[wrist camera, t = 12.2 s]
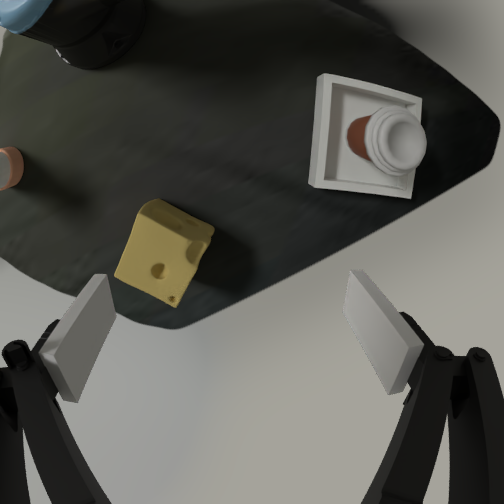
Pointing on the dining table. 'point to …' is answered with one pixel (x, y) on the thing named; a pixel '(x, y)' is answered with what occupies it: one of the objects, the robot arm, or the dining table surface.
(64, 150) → the dining table surface
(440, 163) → the dining table surface
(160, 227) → the cheese
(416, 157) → the coffee cup
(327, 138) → the white square tray
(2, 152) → the salt shaker
